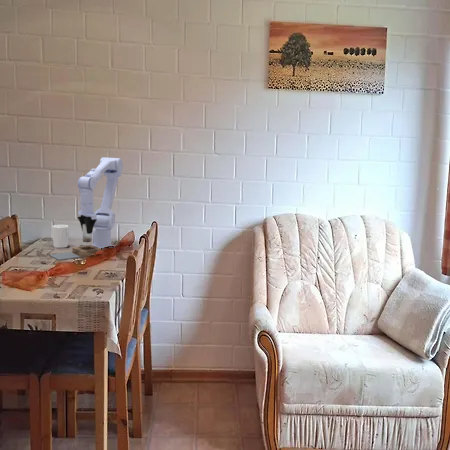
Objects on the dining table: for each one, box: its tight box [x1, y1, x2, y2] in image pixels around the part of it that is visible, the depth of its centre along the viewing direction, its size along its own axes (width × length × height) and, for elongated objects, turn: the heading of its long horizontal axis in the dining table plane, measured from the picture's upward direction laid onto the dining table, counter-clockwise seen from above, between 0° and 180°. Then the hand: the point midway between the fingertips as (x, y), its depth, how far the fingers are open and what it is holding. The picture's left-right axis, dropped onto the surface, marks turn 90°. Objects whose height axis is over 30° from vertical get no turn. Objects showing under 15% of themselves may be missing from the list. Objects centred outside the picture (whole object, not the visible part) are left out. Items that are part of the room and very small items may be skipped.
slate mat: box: [49, 251, 81, 261], centre depth 240 cm, size 10×10×1 cm
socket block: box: [71, 244, 101, 258], centre depth 247 cm, size 10×10×2 cm
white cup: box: [51, 224, 70, 249], centre depth 258 cm, size 8×8×10 cm
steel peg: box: [82, 223, 93, 243], centre depth 245 cm, size 4×4×8 cm
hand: (87, 232), depth 245 cm, fingers closed on steel peg, 4 cm apart
